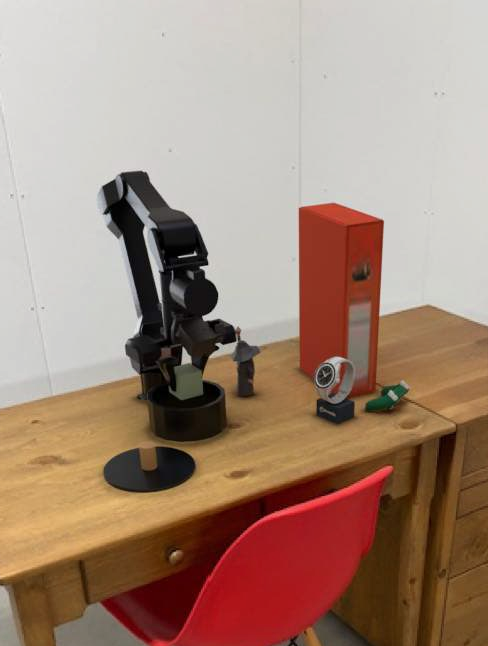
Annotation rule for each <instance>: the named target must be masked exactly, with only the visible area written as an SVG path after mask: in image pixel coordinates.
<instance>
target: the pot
mask: <svg viewBox="0 0 488 646" xmlns="http://www.w3.org/2000/svg"><path fill="white" fill-rule="evenodd" d="M202 383H203V395H199V396H195V397H192V398H188V399H184V400H180V399H179V398H177V397H176V396H174V395H173V394H171V393H170V392H169V384H168V382H165V383H163V384H160V385H158V386H156V387H154V388H153V389H151V390H150V391H149V392H148V395H147V400H146V401H147V411H148V419H149V421H148V422H149V428H150V431H151V432H152V433H153V434H154V436H156V437H158V438H160V439H163V440H165V441H169V442H170V441H171V442H176V443H177V442H178V443H188V442H189V443H190V442H199V441H203V440H208V439H211V438H213V437H215V436H218V435H220V434H221V433H222V432H223V431H224V430H225V429H226V428H227V427H228V423H227V404H226V401H227V400H226V390H225V388H224V387H223V386H221V385H220V384H219V383H217V382H214V381H210V380H206V379H202Z"/></svg>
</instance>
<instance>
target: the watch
mask: <svg viewBox="0 0 488 646" xmlns="http://www.w3.org/2000/svg"><path fill="white" fill-rule="evenodd" d="M342 362H344V363H345V366H346V372H345V374H344V376H343V380H342V382H341V385H340V387H339V389H338V390H339V392H338V394H335V393H333V392H331V391H332V389H333V388H334V387H335V386H336V384H337V383H339V382H340V379H339V371H340V368H341V364H340V363H342ZM354 380H355V368H354V365H353V363H352V362H351V361H349V360H347V359H344V358H341V357H333V358H330V359H329V360H327V361H325V362H324V363H322V364H321V365H320V366H319V367H318V368H317V370H316V372H315V375H314V379H313V381H314V382H313V383H314V385H315V390H316V392H317V395H318V396H319V398H317V399H316V408H315V409H316V410H315V411H316V412H315V413H316V414H315V415H316V416H318V417H320V418H322V419H324V420H326V421H329V422H330V423H333V424H335V425H340V424H342V423H344V422H348V421H350V420H352V419H354V418H355V409H356V408H355V407H356V406H355V405H356V401H354V400H352V399H350V398H345V397H346V396H347V395H349V393H350V391H351V389H352V386H353V383H354Z"/></svg>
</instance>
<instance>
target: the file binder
mask: <svg viewBox="0 0 488 646" xmlns="http://www.w3.org/2000/svg"><path fill="white" fill-rule="evenodd" d="M384 229H385V220H384V219H382V218H379V217H377V216H374V215H371V214H368V213H366V212H363V211H359V210H356V209H354V208H350V207H348V206H345V205H343V204H340V203H336V202H328V203H319V204H313V205H305V206H300V207H298V303H299V304H298V306H299V307H298V312H299V313H298V315H299V318H298V319H299V320H298V321H299V324H298V325H299V332H298V333H299V335H298V337H299V369H300V371H302V372H303V373H305V374H306V375H307V376H309V377H310V378H311V379H313V380H314V375H315V372H316V370H317V368H318V367H319V366H320V365H321V364H322V363H324V362H325V361H327V360H329V359H330V358H333V357H341V358H344V359H347V360H349V361H351V362H352V363H353V365H354V368H355V380H354V383H353V386H352V389H351V391H350V393H349V395H347V396H346V397H345V398H347V399H350V398H353V397H358V396H362V395H366V394H369V393H374V391H377V390H376V388H377V386H376V385H377V367H378V348H379V330H380V329H379V327H380V307H381V289H382V287H381V286H382V268H383V249H384V247H383V246H384V233H385V232H384V231H385V230H384ZM340 364H341V368H340V371H339V379H340V382H339V383H337V384H336V386H335V387H334V388H333V389H332V391H331V393H335V394H338V392H339V390H338V389H339V387H340V385H341V382H342V380H343V376H344V374H345V372H346V366H345V363H344V362H342V363H340Z"/></svg>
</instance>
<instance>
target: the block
mask: <svg viewBox="0 0 488 646" xmlns="http://www.w3.org/2000/svg"><path fill="white" fill-rule="evenodd" d="M174 371H175V378H176V392H173V391H172V390H171V388H170V386H169V392H170V393H171V394H173V395H174V396H176V397H177V398H179V399H180V400H184V399H188V398H192V397H195V396H199V395H203V383H202V380H203V376H202V371H201V370H200V369H198V368H196V367H195V366H193V365H192V363H190V362H189V363H185V364H181V365H180V366H176V367H174Z"/></svg>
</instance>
